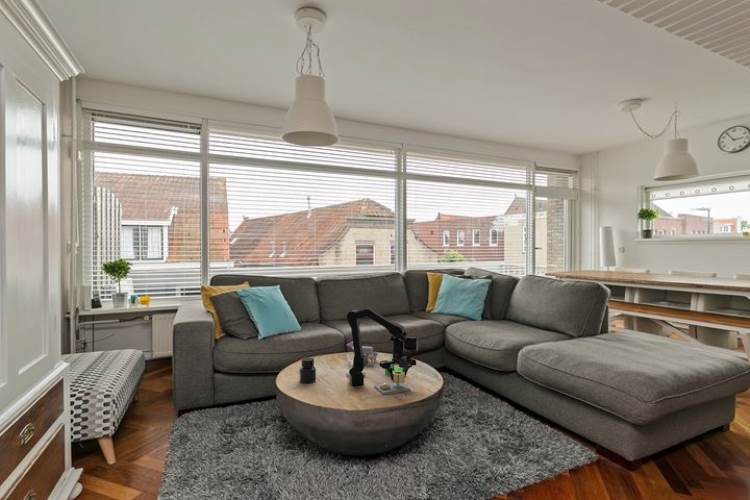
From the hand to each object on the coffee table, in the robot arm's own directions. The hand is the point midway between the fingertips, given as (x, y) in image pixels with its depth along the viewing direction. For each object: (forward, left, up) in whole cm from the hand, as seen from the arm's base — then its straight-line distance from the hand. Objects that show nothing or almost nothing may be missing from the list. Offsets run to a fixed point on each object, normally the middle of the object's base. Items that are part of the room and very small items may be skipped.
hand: (398, 379), depth 213 cm
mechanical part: (+10, +24, -5) cm, 26 cm away
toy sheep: (-2, +50, -5) cm, 50 cm away
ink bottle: (-41, +29, -5) cm, 50 cm away
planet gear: (0, 0, -1) cm, 1 cm away
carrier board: (-3, 0, -4) cm, 6 cm away
